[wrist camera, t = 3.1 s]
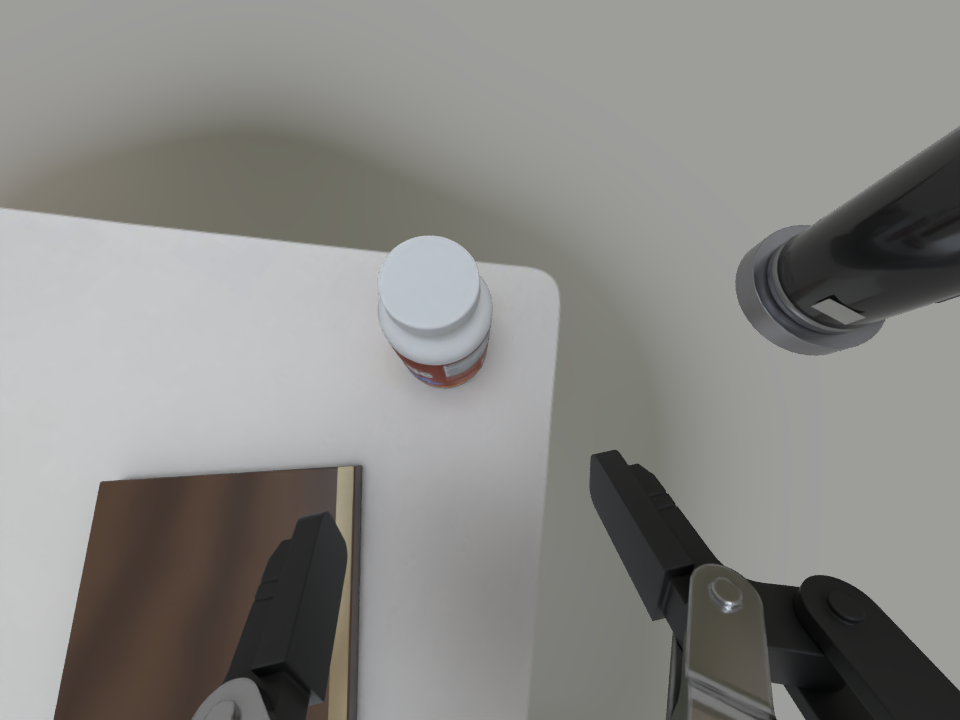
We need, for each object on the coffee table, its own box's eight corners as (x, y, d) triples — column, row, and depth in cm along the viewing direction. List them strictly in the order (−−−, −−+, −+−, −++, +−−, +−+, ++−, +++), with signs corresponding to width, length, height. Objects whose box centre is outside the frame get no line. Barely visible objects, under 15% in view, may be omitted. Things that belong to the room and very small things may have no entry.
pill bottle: (388, 337, 27) (333, 261, 16) (457, 296, 28) (448, 198, 17) (432, 406, 26) (404, 372, 15) (502, 360, 27) (523, 297, 16)
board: (362, 465, 25) (355, 466, 23) (352, 894, 19) (342, 933, 18) (121, 479, 24) (97, 481, 23) (40, 926, 19) (1, 969, 17)
